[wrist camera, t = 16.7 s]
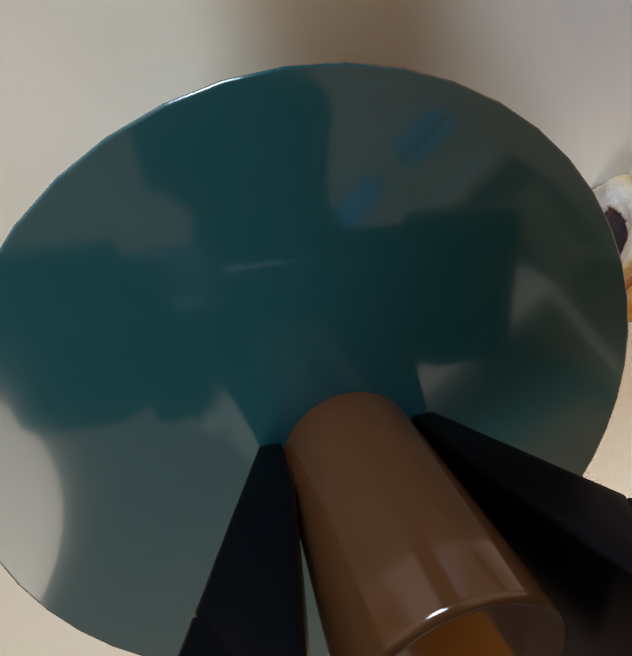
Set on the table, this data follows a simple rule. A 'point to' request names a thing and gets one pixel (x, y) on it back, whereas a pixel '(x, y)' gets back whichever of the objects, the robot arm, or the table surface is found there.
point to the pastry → (620, 222)
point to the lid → (302, 355)
